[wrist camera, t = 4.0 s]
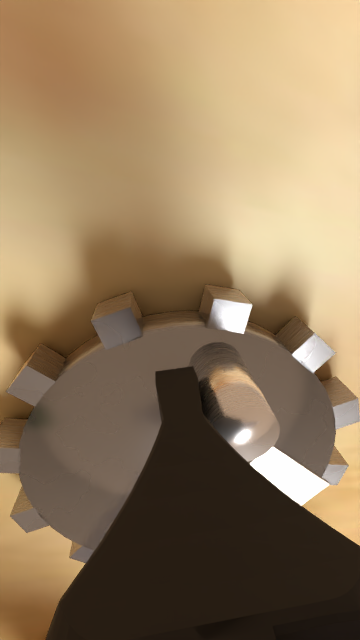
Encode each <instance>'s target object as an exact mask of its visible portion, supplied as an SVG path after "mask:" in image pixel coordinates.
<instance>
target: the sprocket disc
mask: <svg viewBox="0 0 360 640" xmlns="http://www.w3.org/2000/svg"><path fill="white" fill-rule="evenodd" d="M252 305H253V304H252V303H251V302H250V301H249V300H248V299H247V298H246V297H245V296H244V294H243V293H242V292H241V291H240V290H237V289H231V288H225V287H219V286H213V285H207V284H205V288H204V292H203V296H202V300H201V304H200V308H199V311H176V312H166V313H160V314H154V315H148V316H144V317H143V316H142V314H141V311H140V309H139V307H138V305H137V302H136V300H135V298H134V295H133V293H132V291H131V292H128V293H125V294H123V295H120V296H117V297H114V298H112V299H109V300H106V301H103V302H100V303H98V304H97V306H96V309H95V311H94V314H93V316H92V319H91V322H92V324H93V326H94V328H95V330H96V332H97V334H98V335H97V336H95V337H93V338H92V339H90V340H88V341H87V342H85V343H84V344H83V345H81V346H80V347H79V348H78V349H76V350H75V351H74V352H72V353H71V354H70V355H69V356H68V357H67V358H65V357H63V356H62V355H60V354H58V353H57V352H55V351H53V350H52V349H50V348H48V347H46V346H45V345H43V344H41V343H40V345H39V346H38V347H37V348H36V350H35V351H34V352H33V353H32V355H31V356H30V357H29V359H28V360H27V361H26V362H25V364H24V365H23V366H22V368H21V369H20V371H19V372H18V374H17V375H16V377H15V378H14V380H13V381H12V383H11V384H10V386H9V387H8V389H7V390H6V392H7V393H9V394H11V395H13V396H15V397H17V398H19V399H21V400H23V401H25V402H27V403H29V404H31V405H33V406H34V408H33V410H32V412H31V414H30V416H29V418H28V419H15V418H4V419H3V421H2V423H1V424H0V473H19V476H20V480H21V483H22V487H21V490H20V492H19V495H18V497H17V500H16V502H15V505H14V507H13V510H12V512H11V515H10V516H11V517H12V519H13V520H14V521H15V522H16V523H17V524H18V525H19V526H20V527H21V528H22V529H23V530H24V531H25V532H26V533H28V532H31V531H34V530H37V529H40V528H43V527H46V526H49V525H50V526H51V527H52V528H53V529H55V530H56V531H57V532H59V533H60V534H62V535H63V536H64V537H66V538H68V539H70V540H72V546H71V551H70V556H69V558H72V559H75V560H78V561H81V562H84V563H86V562H87V561H88V559H89V558H90V557H91V555H92V554H93V552H94V551H95V549H96V548H97V546H98V545H99V543H100V542H101V540H102V539H103V537H104V536H105V534H106V532H107V531H108V529H109V528H110V526H111V524H112V523H113V521H114V519H115V518H116V516H117V514H118V513H119V511H120V510H121V508H122V506H123V505H124V503H125V501H126V500H127V498H128V496H129V494H130V492H131V491H132V489H133V487H134V485H135V483H136V481H137V479H138V477H139V475H140V473H141V471H142V469H143V467H144V465H145V463H146V461H147V459H148V456H149V454H150V452H151V450H152V447H153V445H154V443H155V440H156V438H157V435H158V432H159V429H160V426H161V417H160V410H159V403H158V397H157V390H156V383H155V371H162V370H169V369H176V368H183V367H191V366H193V367H194V370H195V372H196V375H197V377H198V383H199V390H200V397H201V404H202V411H203V414H204V416H205V417H206V418H207V419H208V420H209V422H210V423H211V424H212V425H213V426H214V428H215V429H216V430H217V431H218V432H219V433H220V434H221V436H222V437H223V438H224V439H225V440H226V441H227V442H228V443H229V444H230V445H231V446H232V447H233V448H234V449H235V450H236V451H237V452H238V453H239V454H240V455H241V456H242V457H243V458H244V459H245V460H246V461H247V462H249V463H250V464H251V465H252V466H253V467H254V468H255V469H256V470H258V471H259V472H260V473H261V474H262V475H264V476H265V477H266V478H267V479H268V480H269V481H271V482H272V483H273V484H274V485H275V486H277V487H278V488H279V489H280V490H281V491H283V492H284V493H285V494H286V495H288V496H289V497H290V498H292V499H293V500H294V501H296V502H297V503H298V504H300V505H303V504H304V503H305V502H307V501H308V500H309V499H311V498H312V497H313V496H315V495H316V494H317V493H319V492H320V491H321V490H323V489H324V488H326V487H327V486H328V485H338V483H339V481H340V479H341V478H342V476H343V474H344V473H345V471H346V469H347V467H348V466H349V465H348V464H347V462H346V461H345V460H344V458H343V457H342V456H341V454H340V453H339V452H338V450H337V449H336V447H335V446H334V442H335V434H336V429H339V428H342V427H345V426H348V425H351V424H353V423H356V422H359V421H360V415H359V402H358V398H357V397H356V396H355V395H354V394H353V393H352V392H351V391H350V390H349V389H348V388H347V387H346V386H345V385H344V384H343V383H342V382H341V381H340V380H339V379H338V378H337V377H334V378H331V379H328V380H325V381H322V382H320V380H319V379H318V377H317V376H316V375H315V374H314V372H315V371H316V370H317V369H318V368H319V367H321V366H322V365H323V364H324V363H325V362H326V361H327V360H329V359H330V358H331V357H332V356H333V355H334V354H335V352H334V351H333V350H332V349H331V348H330V347H329V346H328V345H327V344H326V343H325V342H324V341H323V340H322V339H321V338H320V337H319V336H317V335H316V334H315V333H314V332H313V331H312V330H311V329H310V328H308V327H307V326H306V325H305V324H304V323H303V322H301V321H300V320H299V319H298V318H297V317H296V316H295V317H294V318H293V319H292V320H291V321H290V322H288V323H287V324H286V325H285V326H284V327H283V328H282V329H281V330H280V331H279V332H278V333H277V334H276V335H274V334H273V333H272V332H270V331H268V330H266V329H264V328H262V327H260V326H258V325H257V324H254V323H252V322H249V321H248V318H249V315H250V312H251V309H252Z"/></svg>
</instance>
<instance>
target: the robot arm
mask: <svg viewBox="0 0 360 640" xmlns="http://www.w3.org/2000/svg"><path fill="white" fill-rule="evenodd" d="M155 383H156V390H157V397H158V403H159V410H160V417H161V426H160V429H159V432H158V435H157V438H156V440H155V443H154V445H153V447H152V450H151V452H150V454H149V456H148V459H147V461H146V463H145V465H144V467H143V469H142V471H141V473H140V475H139V477H138V479H137V481H136V483H135V485H134V487H133V489H132V491H131V492H130V494H129V496H128V498H127V500H126V501H125V503H124V505H123V506H122V508H121V510H120V511H119V513H118V514H117V516H116V518H115V519H114V521H113V523H112V524H111V526H110V528H109V529H108V531H107V532H106V534H105V536H104V537H103V539H102V540H101V542H100V543H99V545H98V546H97V548H96V549H95V551H94V552H93V554H92V555H91V557H90V558H89V559H88V561H87V562H86V564H85V565H84V566H83V568H82V569H81V571H80V572H79V574H78V575H77V576H76V578H75V579H74V581H73V582H72V584H71V585H70V586H69V588H68V589H67V591H66V592H65V593H64V595H63V596H62V598H61V599H60V601H59V603H58V606H57V609H56V611H55V614H54V617H53V620H52V622H51V625H50V628H49V631H48V634H47V637H46V640H360V546H359V545H357V544H356V543H354V542H353V541H351V540H350V539H348V538H347V537H345V536H344V535H342V534H341V533H339V532H338V531H336V530H335V529H333V528H332V527H330V526H329V525H328V524H326V523H325V522H323V521H322V520H320V519H319V518H318V517H316V516H315V515H313V514H312V513H310V512H309V511H308V510H306V509H305V508H304V507H302V506H301V505H300V504H298V503H297V502H296V501H294V500H293V499H292V498H290V497H289V496H288V495H286V494H285V493H284V492H283V491H281V490H280V489H279V488H278V487H277V486H275V485H274V484H273V483H272V482H271V481H269V480H268V479H267V478H266V477H265V476H264V475H262V474H261V473H260V472H259V471H258V470H256V469H255V468H254V467H253V466H252V465H251V464H250V463H249V462H247V461H246V460H245V459H244V458H243V457H242V456H241V455H240V454H239V453H238V452H237V451H236V450H235V449H234V448H233V447H232V446H231V445H230V444H229V443H228V442H227V441H226V440H225V439H224V438H223V437H222V436H221V434H220V433H219V432H218V431H217V430H216V429H215V428H214V426H213V425H212V424H211V423H210V422H209V420H208V419H207V418H206V417H205V416H204V414H203V411H202V404H201V397H200V390H199V383H198V377H197V375H196V372H195V370H194V367H193V366H191V367H183V368H176V369H169V370H162V371H155Z"/></svg>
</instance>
